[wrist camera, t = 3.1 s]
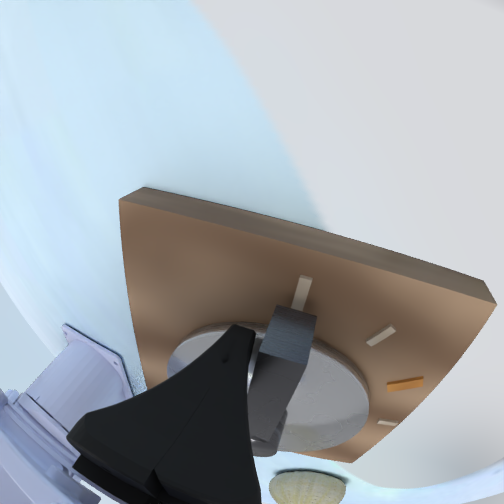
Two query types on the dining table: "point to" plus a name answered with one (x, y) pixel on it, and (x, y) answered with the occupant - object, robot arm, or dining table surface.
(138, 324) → the dial base
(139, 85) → the dining table surface
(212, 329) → the dial
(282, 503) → the sea urchin shell
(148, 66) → the dining table surface
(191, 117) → the dining table surface
